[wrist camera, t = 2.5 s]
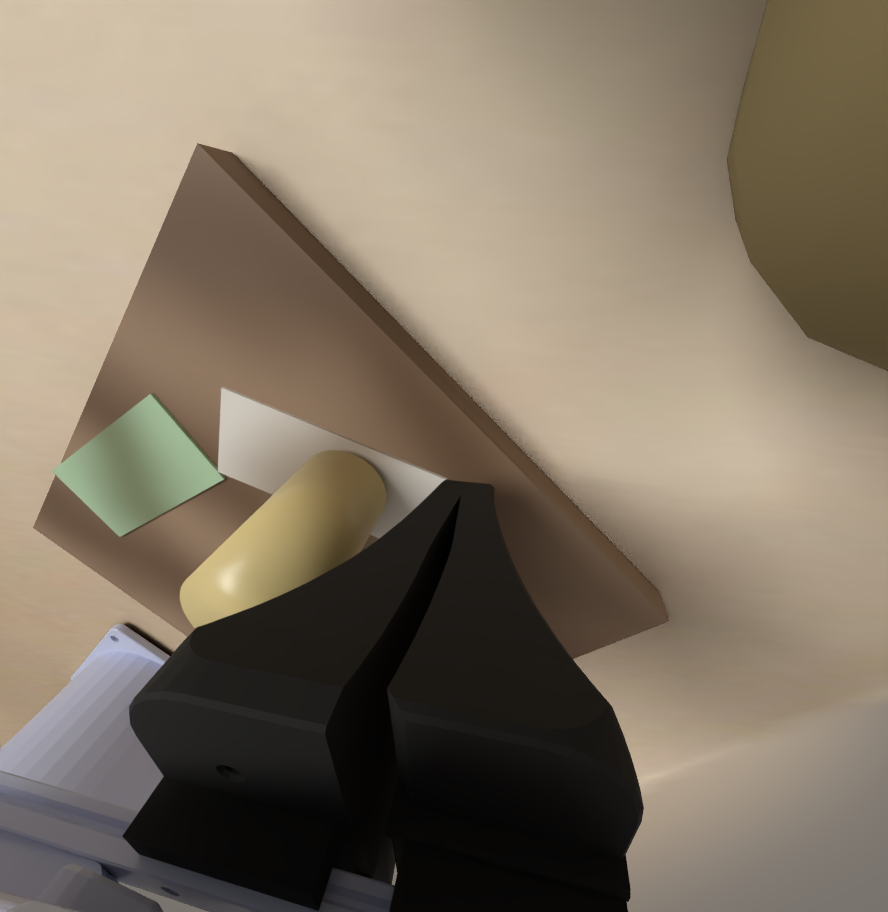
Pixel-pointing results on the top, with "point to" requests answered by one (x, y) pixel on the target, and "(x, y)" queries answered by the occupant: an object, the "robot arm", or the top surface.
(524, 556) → the brown flat square board
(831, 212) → the squeeze bottle
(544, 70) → the top surface
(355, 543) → the peg lever
